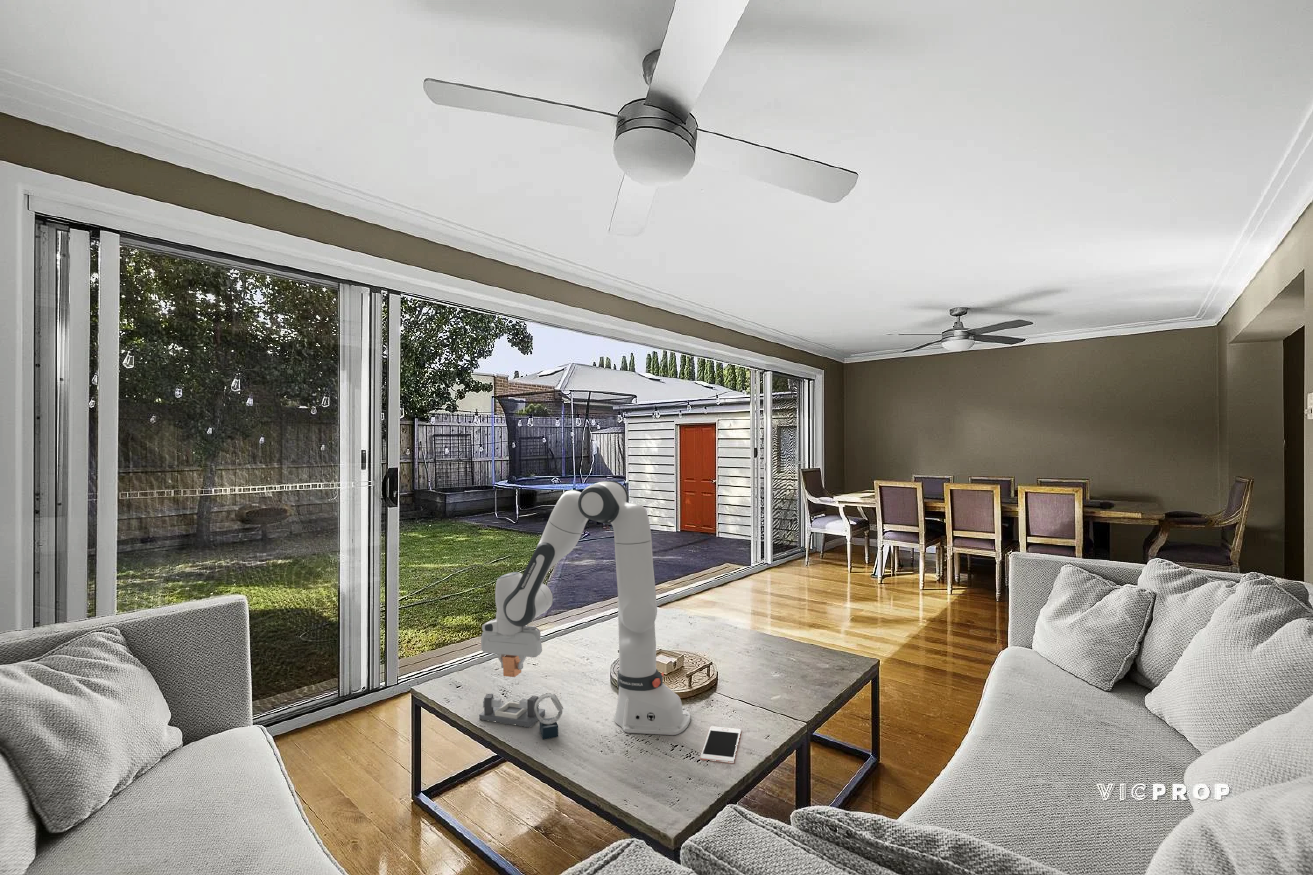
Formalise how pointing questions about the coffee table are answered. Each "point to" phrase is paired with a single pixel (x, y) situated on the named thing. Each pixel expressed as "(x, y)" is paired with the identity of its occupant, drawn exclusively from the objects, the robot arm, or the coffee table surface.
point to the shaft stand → (511, 711)
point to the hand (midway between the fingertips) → (512, 668)
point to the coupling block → (510, 665)
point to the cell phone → (721, 744)
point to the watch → (550, 724)
